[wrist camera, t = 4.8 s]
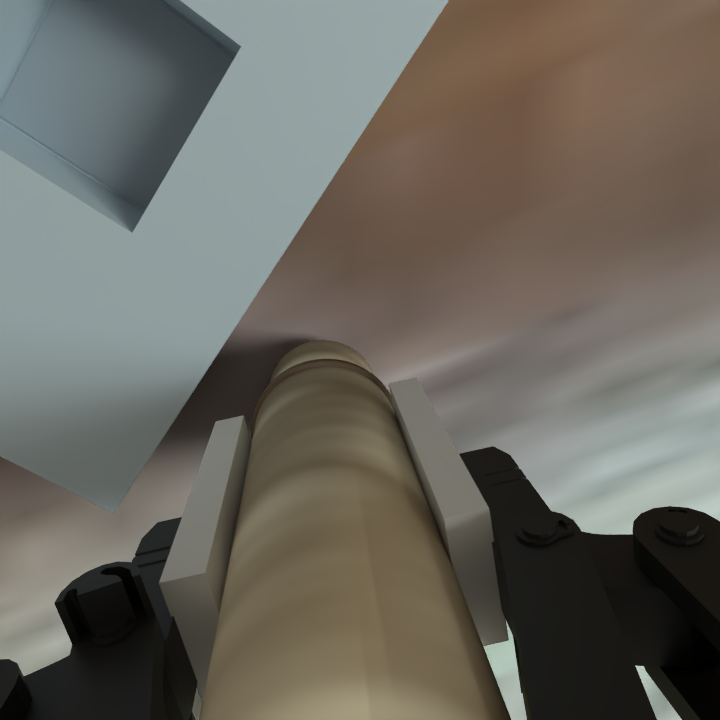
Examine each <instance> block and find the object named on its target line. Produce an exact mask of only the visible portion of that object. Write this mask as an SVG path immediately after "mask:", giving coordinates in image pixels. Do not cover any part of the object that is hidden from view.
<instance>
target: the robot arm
mask: <svg viewBox="0 0 720 720" xmlns="http://www.w3.org/2000/svg"><path fill="white" fill-rule="evenodd" d="M389 387H390V392H391V397H392V402H393V407H394V413H395V417H396V419H397V422H398V425H399V427H400V430H401V433H402V435H403V438H404V440H405V443H406V446H407V448H408V451H409V454H410V456H411V459H412V462H413V464H414V467H415V469H416V472H417V475H418V477H419V480H420V483H421V485H422V488H423V490H424V493H425V496H426V498H427V501H428V504H429V506H430V509H431V512H432V514H433V517H434V519H435V522H436V525H437V527H438V530H439V533H440V535H441V538H442V540H443V543H444V546H445V548H446V551H447V554H448V556H449V559H450V562H451V564H452V567H453V569H454V571H455V574H456V576H457V579H458V582H459V584H460V587H461V589H462V592H463V595H464V597H465V600H466V603H467V605H468V608H469V610H470V613H471V616H472V618H473V621H474V624H475V626H476V629H477V631H478V634H479V637H480V639H481V642H482V645H483V646H486V645H490V644H495V643H499V642H503V641H508V640H509V639H508V633H507V626H506V621H507V623H508V625H509V627H510V630H511V632H512V634H513V638H514V645H515V652H516V659H517V666H518V673H519V680H520V687H521V693H523V699H524V704H525V710H526V716H527V720H657V719H656V716H655V714H654V711H653V709H652V706H651V704H650V701H649V699H648V697H647V694H646V692H645V689H644V687H643V684H642V682H641V679H640V677H639V674H638V672H637V669H636V667H635V665H638V666H644V668H645V670H646V672H647V673H648V674H649V676H650V677H651V678H652V680H653V681H654V682H655V684H656V685H657V686H658V688H659V689H660V690H661V692H662V693H663V694H664V696H665V697H666V699H667V700H668V701H669V703H670V704H671V705H672V707H673V708H674V709H675V711H676V712H677V713H678V715H679V716H680V717H681V719H682V720H720V522H719V521H718V520H716V519H715V518H713V517H711V516H709V515H708V514H706V513H704V512H700V511H697V510H693V509H690V508H683V507H671V506H669V507H661V508H653V509H651V510H649V511H646V512H644V513H641V514H640V515H639V516H638V517H637V518H636V520H635V521H634V523H633V535H602V534H591V533H586V532H581V530H580V528H579V527H578V526H577V524H576V523H575V522H574V520H572V519H570V518H569V517H567V516H565V515H563V514H561V513H556V512H552V511H551V510H550V509H549V508H548V506H547V505H546V504H545V502H544V501H543V499H542V498H541V497H540V495H539V494H538V493H537V491H536V490H535V489H534V487H533V486H532V484H531V483H530V482H529V480H528V479H526V476H525V475H524V474H523V472H522V471H521V469H519V467H518V465H517V464H516V463H515V461H514V460H513V459H512V457H511V456H510V455H509V454H507V453H505V452H503V451H501V450H499V449H497V448H495V447H488V448H484V449H479V450H475V451H470V452H466V453H461V454H459V453H458V452H457V450H456V448H455V446H454V444H453V443H452V441H451V439H450V437H449V435H448V434H447V432H446V430H445V428H444V426H443V424H442V423H441V421H440V419H439V417H438V415H437V414H436V412H435V410H434V408H433V406H432V405H431V403H430V401H429V399H428V397H427V396H426V394H425V392H424V390H423V388H422V387H421V385H420V383H419V381H418V379H417V378H413V379H408V380H404V381H399V382H395V383H390V384H389ZM251 445H252V443H251V439H250V436H249V432H248V429H247V425H246V422H245V418H244V415H243V416H238V417H234V418H229V419H225V420H220V421H216V422H215V425H214V428H213V430H212V433H211V436H210V439H209V442H208V445H207V448H206V450H205V453H204V456H203V459H202V462H201V465H200V467H199V470H198V473H197V476H196V479H195V482H194V485H193V487H192V490H191V493H190V496H189V499H188V502H187V504H186V507H185V510H184V513H183V516H182V517H180V518H176V519H171V520H167V521H162V522H158V523H157V524H156V525H155V526H154V527H153V528H152V529H151V530H150V531H149V532H148V533H147V534H146V535H145V536H144V537H143V538H142V540H141V542H140V544H139V547H138V549H137V551H136V554H135V556H136V557H134V558H133V560H132V563H131V562H114V563H110V564H105V565H102V566H100V567H97V568H95V569H93V570H90V571H88V572H86V573H84V574H83V575H81V576H80V577H78V578H77V579H75V580H74V581H72V582H71V583H70V584H69V585H68V586H67V587H66V588H65V589H64V590H63V591H62V592H61V593H60V595H59V596H58V598H57V600H56V602H55V606H56V608H57V610H58V613H59V615H60V617H61V619H62V622H63V624H64V626H65V629H66V631H67V633H68V635H69V638H70V640H71V642H72V649H71V653H70V655H69V656H67V657H65V658H63V659H61V660H60V661H58V662H55V663H53V664H51V665H49V666H47V667H44V668H42V669H40V670H38V671H35V672H33V673H31V674H29V675H26V676H23V674H22V672H21V670H20V668H19V666H18V664H17V663H15V662H13V661H11V660H9V659H3V660H0V720H195V718H194V715H193V712H192V707H193V702H194V697H195V692H196V687H197V689H198V692H199V695H200V697H201V700H202V703H203V698H204V692H205V687H206V682H207V677H208V671H209V666H210V661H211V655H212V650H213V645H214V640H215V634H216V629H217V624H218V619H219V613H220V608H221V603H222V597H223V592H224V587H225V582H226V576H227V571H228V566H229V561H230V555H231V550H232V545H233V539H234V534H235V529H236V524H237V518H238V513H239V508H240V503H241V497H242V492H243V487H244V481H245V476H246V471H247V466H248V460H249V455H250V450H251Z"/></svg>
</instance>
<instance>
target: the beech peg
mask: <svg viewBox="0 0 720 720" xmlns="http://www.w3.org/2000/svg"><path fill="white" fill-rule="evenodd" d="M251 440H252V445H251V450H250V455H249V460H248V466H247V471H246V476H245V481H244V487H243V492H242V497H241V503H240V508H239V513H238V518H237V524H236V529H235V534H234V539H233V545H232V550H231V555H230V561H229V566H228V571H227V576H226V582H225V587H224V592H223V597H222V603H221V608H220V613H219V619H218V624H217V629H216V634H215V640H214V645H213V650H212V655H211V661H210V666H209V671H208V677H207V682H206V687H205V692H204V698H203V703H202V708H201V713H200V719H199V720H511V718H510V715H509V713H508V710H507V708H506V705H505V702H504V700H503V697H502V694H501V692H500V689H499V687H498V684H497V681H496V679H495V676H494V673H493V671H492V668H491V666H490V663H489V660H488V658H487V655H486V652H485V650H484V647H483V645H482V642H481V639H480V637H479V634H478V631H477V629H476V626H475V624H474V621H473V618H472V616H471V613H470V610H469V608H468V605H467V603H466V600H465V597H464V595H463V592H462V589H461V587H460V584H459V582H458V579H457V576H456V574H455V571H454V569H453V567H452V564H451V562H450V559H449V556H448V554H447V551H446V548H445V546H444V543H443V540H442V538H441V535H440V533H439V530H438V527H437V525H436V522H435V519H434V517H433V514H432V512H431V509H430V506H429V504H428V501H427V498H426V496H425V493H424V490H423V488H422V485H421V483H420V480H419V477H418V475H417V472H416V469H415V467H414V464H413V462H412V459H411V456H410V454H409V451H408V448H407V446H406V443H405V440H404V438H403V435H402V433H401V430H400V427H399V425H398V422H397V419H396V417H395V413H394V407H393V402H392V397H391V395H390V393H389V392H388V390H387V389H386V387H385V386H384V385H383V383H382V382H381V381H380V380H379V379H378V378H377V377H376V376H374V375H373V373H372V371H371V368H370V366H369V365H368V363H367V362H366V360H365V359H364V358H363V357H362V356H361V355H360V354H359V353H358V352H356V351H355V350H354V349H352V348H350V347H349V346H346V345H344V344H342V343H338V342H334V341H327V340H319V341H312V342H307V343H304V344H301V345H299V346H297V347H295V348H294V349H292V350H290V351H289V352H288V353H287V354H285V355H284V356H283V357H282V358H281V360H280V361H279V362H278V364H277V365H276V366H275V368H274V370H273V372H272V375H271V378H270V382H269V385H268V386H267V387H266V388H265V390H264V391H263V393H262V394H261V396H260V398H259V400H258V402H257V404H256V407H255V410H254V415H253V420H252V425H251Z"/></svg>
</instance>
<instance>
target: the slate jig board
mask: <svg viewBox="0 0 720 720" xmlns="http://www.w3.org/2000/svg"><path fill="white" fill-rule="evenodd" d="M448 1H449V0H0V457H2V458H4V459H6V460H8V461H10V462H12V463H14V464H16V465H18V466H20V467H22V468H24V469H26V470H28V471H30V472H32V473H34V474H36V475H38V476H40V477H42V478H44V479H46V480H48V481H50V482H52V483H54V484H56V485H58V486H60V487H62V488H64V489H66V490H68V491H70V492H72V493H74V494H76V495H78V496H80V497H82V498H84V499H86V500H88V501H89V502H91V503H93V504H95V505H97V506H99V507H101V508H103V509H105V510H107V511H109V512H111V513H113V514H114V512H115V511H116V509H117V507H118V506H119V504H120V503H121V501H122V500H123V498H124V497H125V495H126V494H127V492H128V491H129V489H130V488H131V486H132V484H133V483H134V481H135V480H136V478H137V477H138V475H139V474H140V472H141V471H142V469H143V468H144V466H145V465H146V463H147V462H148V460H149V458H150V457H151V455H152V454H153V452H154V451H155V449H156V448H157V446H158V445H159V443H160V442H161V440H162V439H163V437H164V435H165V434H166V432H167V431H168V429H169V428H170V426H171V425H172V423H173V422H174V420H175V419H176V417H177V416H178V414H179V413H180V411H181V409H182V408H183V406H184V405H185V403H186V402H187V400H188V399H189V397H190V396H191V394H192V393H193V391H194V390H195V388H196V386H197V385H198V383H199V382H200V380H201V379H202V377H203V376H204V374H205V373H206V371H207V370H208V368H209V367H210V365H211V364H212V362H213V360H214V359H215V357H216V356H217V354H218V353H219V351H220V350H221V348H222V347H223V345H224V344H225V342H226V341H227V339H228V337H229V336H230V334H231V333H232V331H233V330H234V328H235V327H236V325H237V324H238V322H239V321H240V319H241V318H242V316H243V314H244V313H245V311H246V310H247V308H248V307H249V305H250V304H251V302H252V301H253V299H254V298H255V296H256V295H257V293H258V292H259V290H260V288H261V287H262V285H263V284H264V282H265V281H266V279H267V278H268V276H269V275H270V273H271V272H272V270H273V269H274V267H275V265H276V264H277V262H278V261H279V259H280V258H281V256H282V255H283V253H284V252H285V250H286V249H287V247H288V246H289V244H290V243H291V241H292V239H293V238H294V236H295V235H296V233H297V232H298V230H299V229H300V227H301V226H302V224H303V223H304V221H305V220H306V218H307V216H308V215H309V213H310V212H311V210H312V209H313V207H314V206H315V204H316V203H317V201H318V200H319V198H320V197H321V195H322V194H323V192H324V190H325V189H326V187H327V186H328V184H329V183H330V181H331V180H332V178H333V177H334V175H335V174H336V172H337V171H338V169H339V167H340V166H341V164H342V163H343V161H344V160H345V158H346V157H347V155H348V154H349V152H350V151H351V149H352V148H353V146H354V145H355V143H356V141H357V140H358V138H359V137H360V135H361V134H362V132H363V131H364V129H365V128H366V126H367V125H368V123H369V122H370V120H371V118H372V117H373V115H374V114H375V112H376V111H377V109H378V108H379V106H380V105H381V103H382V102H383V100H384V99H385V97H386V95H387V94H388V92H389V91H390V89H391V88H392V86H393V85H394V83H395V82H396V80H397V79H398V77H399V76H400V74H401V73H402V71H403V69H404V68H405V66H406V65H407V63H408V62H409V60H410V59H411V57H412V56H413V54H414V53H415V51H416V50H417V48H418V46H419V45H420V43H421V42H422V40H423V39H424V37H425V36H426V34H427V33H428V31H429V30H430V28H431V27H432V25H433V24H434V22H435V20H436V19H437V17H438V16H439V14H440V13H441V11H442V10H443V8H444V7H445V5H446V4H447V2H448Z"/></svg>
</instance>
